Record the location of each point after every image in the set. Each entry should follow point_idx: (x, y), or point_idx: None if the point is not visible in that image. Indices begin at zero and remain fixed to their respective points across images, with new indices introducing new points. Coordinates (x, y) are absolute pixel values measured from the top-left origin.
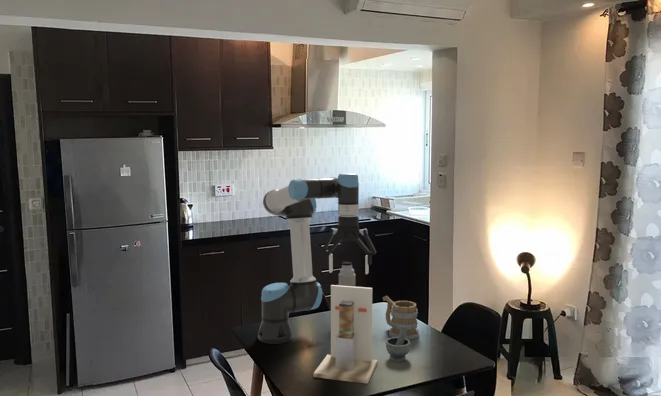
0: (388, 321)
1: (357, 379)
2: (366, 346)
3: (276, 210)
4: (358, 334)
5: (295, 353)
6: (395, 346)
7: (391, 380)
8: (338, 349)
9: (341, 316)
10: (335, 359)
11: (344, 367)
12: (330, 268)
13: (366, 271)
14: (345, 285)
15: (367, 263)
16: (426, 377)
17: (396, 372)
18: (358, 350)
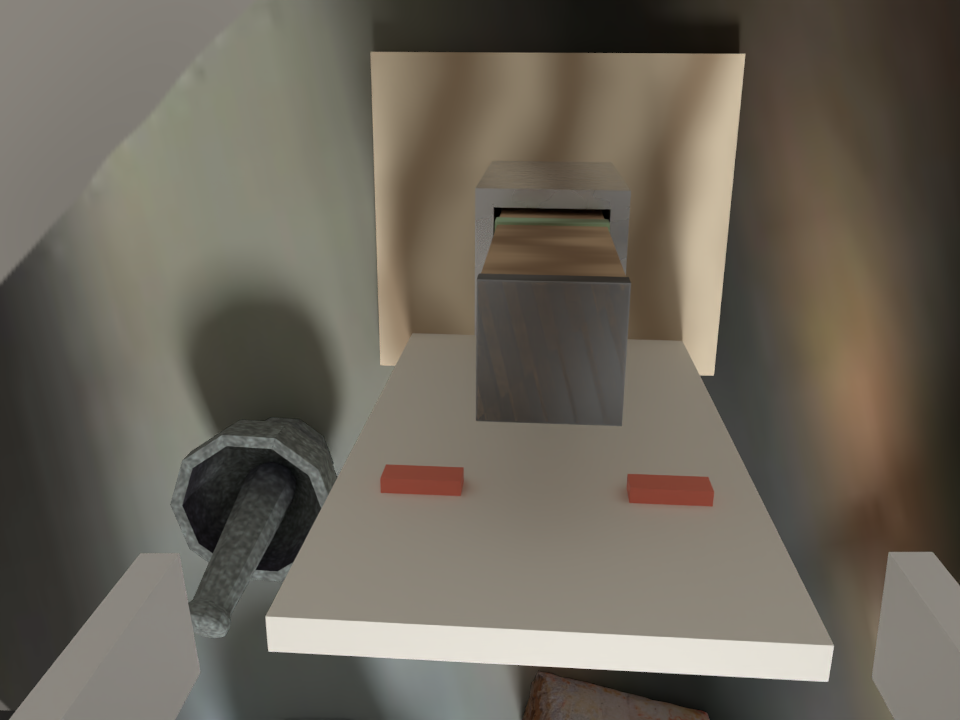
0: None
1: (437, 53)
2: (430, 365)
3: None
4: None
5: (939, 390)
6: (251, 435)
7: (247, 142)
8: (598, 177)
9: (592, 253)
10: (643, 308)
11: (549, 163)
12: (941, 604)
13: (133, 582)
14: None
15: (29, 716)
16: (68, 239)
17: (246, 264)
18: None
